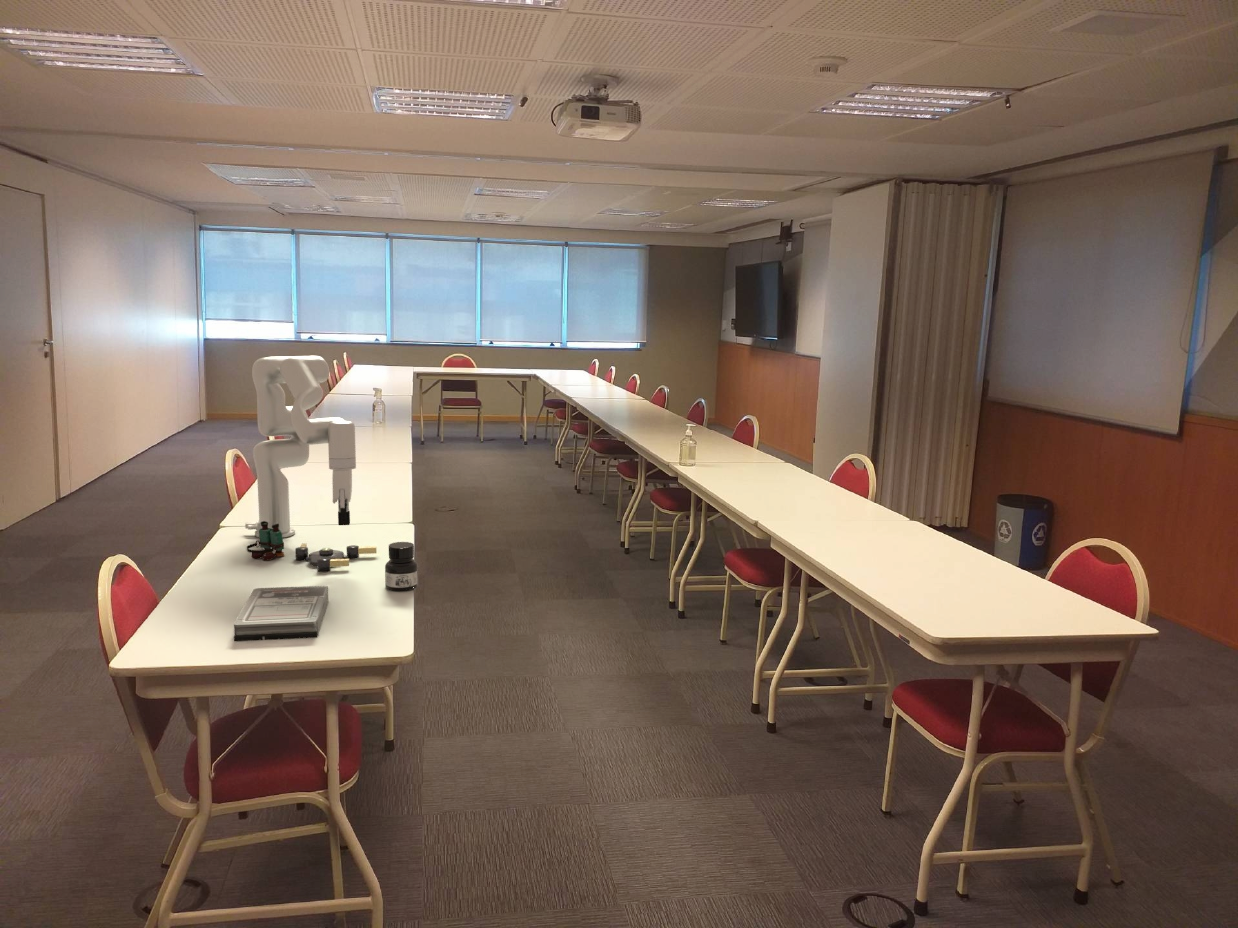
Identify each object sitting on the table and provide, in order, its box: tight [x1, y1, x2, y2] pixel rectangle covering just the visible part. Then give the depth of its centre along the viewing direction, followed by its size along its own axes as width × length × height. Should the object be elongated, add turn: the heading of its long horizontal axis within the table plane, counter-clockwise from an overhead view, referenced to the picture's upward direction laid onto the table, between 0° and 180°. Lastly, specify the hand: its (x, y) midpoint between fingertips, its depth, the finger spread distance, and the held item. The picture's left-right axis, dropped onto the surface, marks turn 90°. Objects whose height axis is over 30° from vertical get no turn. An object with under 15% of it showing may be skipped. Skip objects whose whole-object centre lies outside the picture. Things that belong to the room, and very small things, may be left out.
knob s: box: [317, 558, 350, 573], centre depth 261 cm, size 9×4×3 cm, turn 103°
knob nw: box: [295, 542, 309, 562], centre depth 274 cm, size 9×4×3 cm, turn 13°
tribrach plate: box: [305, 547, 348, 568], centre depth 268 cm, size 12×11×4 cm
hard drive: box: [233, 585, 330, 642], centre depth 221 cm, size 18×27×4 cm
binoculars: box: [246, 521, 285, 562], centre depth 271 cm, size 9×11×10 cm
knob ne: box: [346, 544, 377, 560], centre depth 275 cm, size 9×4×3 cm, turn 103°
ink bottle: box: [384, 541, 419, 592], centre depth 247 cm, size 10×9×12 cm
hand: (344, 524), depth 264 cm, fingers closed
